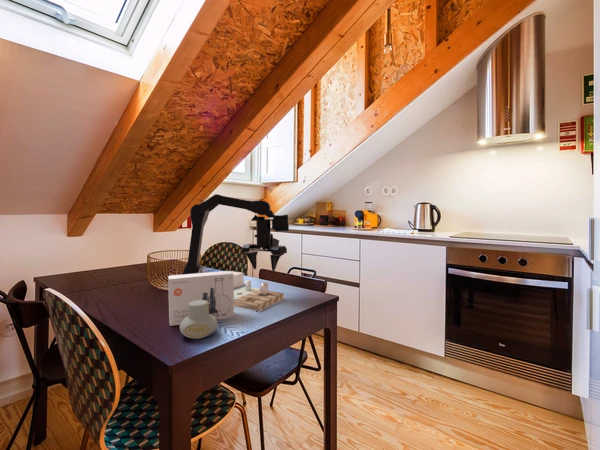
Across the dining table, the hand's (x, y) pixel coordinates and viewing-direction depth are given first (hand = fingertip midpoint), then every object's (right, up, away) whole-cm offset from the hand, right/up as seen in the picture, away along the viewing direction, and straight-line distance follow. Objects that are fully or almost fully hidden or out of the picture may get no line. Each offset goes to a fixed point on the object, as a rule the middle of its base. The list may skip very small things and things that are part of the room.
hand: (264, 270), depth 131 cm
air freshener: (-16, -15, -34) cm, 40 cm away
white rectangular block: (-19, -11, +20) cm, 30 cm away
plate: (-10, -12, +11) cm, 19 cm away
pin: (0, -13, +1) cm, 13 cm away
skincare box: (-19, -14, -21) cm, 31 cm away
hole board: (-2, -13, -3) cm, 13 cm away
